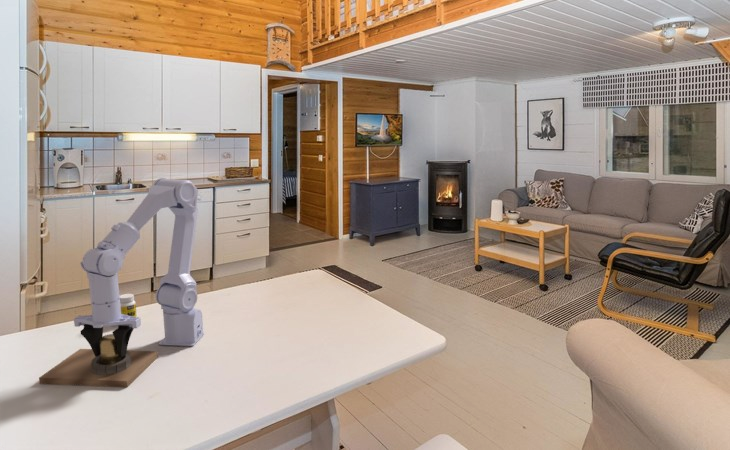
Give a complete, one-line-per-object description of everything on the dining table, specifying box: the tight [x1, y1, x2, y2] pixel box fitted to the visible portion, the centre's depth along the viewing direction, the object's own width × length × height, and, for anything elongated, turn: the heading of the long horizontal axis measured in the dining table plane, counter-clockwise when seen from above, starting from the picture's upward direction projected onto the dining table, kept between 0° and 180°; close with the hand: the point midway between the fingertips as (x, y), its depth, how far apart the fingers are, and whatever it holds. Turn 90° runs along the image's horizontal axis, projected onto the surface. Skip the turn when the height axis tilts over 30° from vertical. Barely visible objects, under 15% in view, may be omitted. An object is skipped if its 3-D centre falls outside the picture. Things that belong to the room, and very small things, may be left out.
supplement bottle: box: [119, 293, 137, 317], centre depth 132 cm, size 5×5×8 cm
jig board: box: [38, 348, 159, 388], centre depth 106 cm, size 20×14×4 cm
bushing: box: [99, 333, 121, 365], centre depth 104 cm, size 4×4×7 cm
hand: (110, 354), depth 105 cm, fingers open, 5 cm apart
